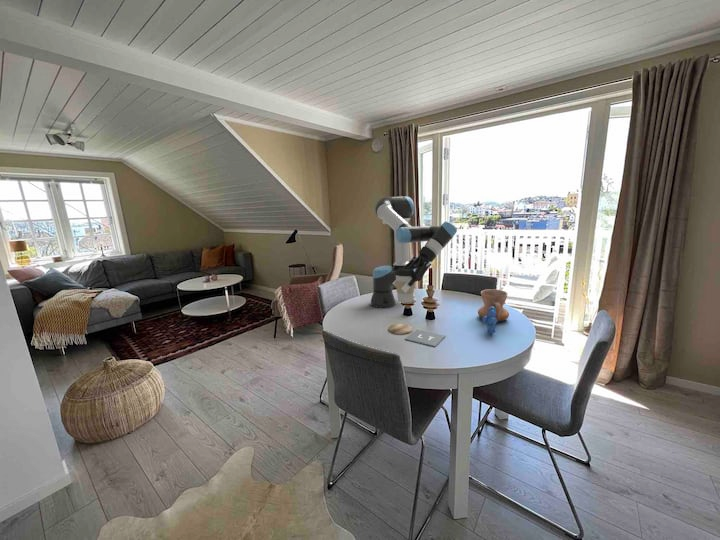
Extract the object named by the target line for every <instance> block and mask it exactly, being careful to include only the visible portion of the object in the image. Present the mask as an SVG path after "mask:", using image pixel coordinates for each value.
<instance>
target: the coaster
mask: <svg viewBox="0 0 720 540" xmlns="http://www.w3.org/2000/svg"><path fill="white" fill-rule="evenodd" d="M388 331H389V333H391V334H395V335H407V334H408V335H409V334H411V333H413V332H412V331H413V327H412V326H411V325H410V324H406V323H396V324H395V323H394V324H392V325H390V326H389V327H388Z"/></svg>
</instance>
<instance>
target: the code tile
mask: <svg viewBox="0 0 720 540" xmlns="http://www.w3.org/2000/svg"><path fill="white" fill-rule="evenodd" d="M445 338H446V335H443V334H438V333H433V332H431V331H425V330H421V329H420V330H419V329H415V330H414V331H413V332H411V333H409V334H408V336H406V337H405V338H404V340H405V341H409V342H412V343H418V344H421V345H425V346H429V347H433V348H436V347H437V346H439V344H440V343H441V342H442V341H443V340H444V339H445Z"/></svg>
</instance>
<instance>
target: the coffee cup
mask: <svg viewBox="0 0 720 540" xmlns="http://www.w3.org/2000/svg"><path fill="white" fill-rule="evenodd" d="M413 274H414V271H413V269H410V268H401V269H398V270H397V271H396V272H395V275H396V287H395V288H396V293H397V302H399V303H404V304H406V303H412V302H413V300H414V292H415V283H414V284H413V285H412V286H411V287H410V288H409V290H408V291H407V292H406V293H405V292H404V291H403V290H402V289H401V288H402V287H403V286H404V285H405V283H406V282H407V281H408V280H409V279H410V278H411V276H413Z"/></svg>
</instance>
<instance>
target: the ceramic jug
mask: <svg viewBox="0 0 720 540" xmlns="http://www.w3.org/2000/svg"><path fill="white" fill-rule="evenodd" d="M480 295H481V299H482V302H483V304H484V305H482V306H481V307H480V308H478V310H477V314H478V316H479V317H480V318H481V319H482V318H483V317H484V316H487V315H488V313H489V311H488V309H489V308H490V307H491V306H493V307H495V309H496V315H495V316H496V317H495V318H496V319H497V320H498V321H497V322H503V321H506V320H507V319H508V318H509V317H510V312H509V311H508V310H507V309H506V308H505V307H503V306H504V305H505V303H506V300H507V298H508V292H507V291H504V290H502V289H491V288H490V289H484V290H482V291H480Z"/></svg>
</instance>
